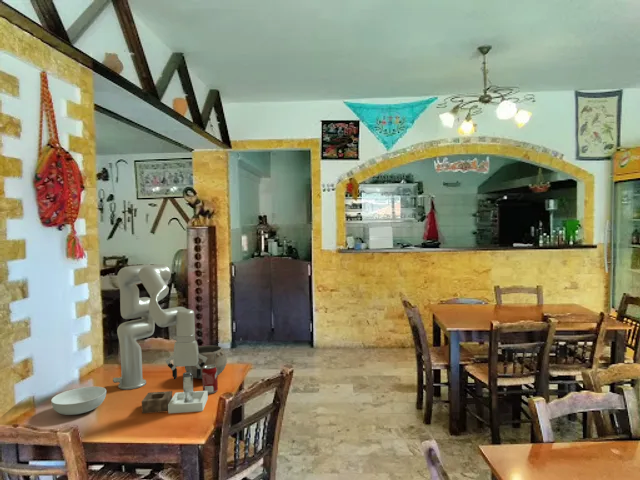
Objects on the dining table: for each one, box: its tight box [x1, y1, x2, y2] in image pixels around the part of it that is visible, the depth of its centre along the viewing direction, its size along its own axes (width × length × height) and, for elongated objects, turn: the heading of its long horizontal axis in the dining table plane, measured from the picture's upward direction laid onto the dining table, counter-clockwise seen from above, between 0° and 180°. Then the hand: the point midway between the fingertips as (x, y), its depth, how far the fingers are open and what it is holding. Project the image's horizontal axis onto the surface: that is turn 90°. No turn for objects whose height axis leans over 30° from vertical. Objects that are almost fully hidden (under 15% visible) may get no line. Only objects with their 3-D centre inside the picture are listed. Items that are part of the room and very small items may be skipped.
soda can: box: [201, 365, 219, 395], centre depth 208 cm, size 7×7×12 cm
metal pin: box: [182, 371, 194, 403], centre depth 192 cm, size 4×4×13 cm
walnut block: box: [141, 390, 173, 414], centre depth 191 cm, size 10×10×5 cm
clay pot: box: [184, 345, 228, 380], centre depth 228 cm, size 21×21×15 cm
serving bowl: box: [50, 386, 107, 416], centre depth 191 cm, size 21×21×7 cm
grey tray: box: [167, 390, 209, 414], centre depth 192 cm, size 14×14×4 cm
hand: (186, 377), depth 192 cm, fingers open, 9 cm apart
